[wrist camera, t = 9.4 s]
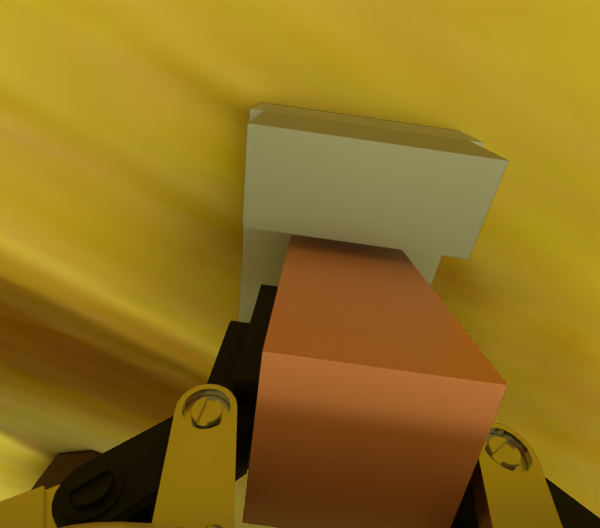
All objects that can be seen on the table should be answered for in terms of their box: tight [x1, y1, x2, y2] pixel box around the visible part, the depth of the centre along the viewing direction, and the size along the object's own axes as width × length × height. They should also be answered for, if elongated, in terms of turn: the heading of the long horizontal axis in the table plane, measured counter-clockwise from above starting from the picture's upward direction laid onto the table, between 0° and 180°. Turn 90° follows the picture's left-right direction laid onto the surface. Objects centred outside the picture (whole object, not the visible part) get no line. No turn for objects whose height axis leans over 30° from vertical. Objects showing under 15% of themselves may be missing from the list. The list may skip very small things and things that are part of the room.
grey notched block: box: [239, 102, 509, 323], centre depth 16 cm, size 16×8×6 cm, turn 173°
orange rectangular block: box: [243, 234, 508, 528], centre depth 10 cm, size 4×4×8 cm
